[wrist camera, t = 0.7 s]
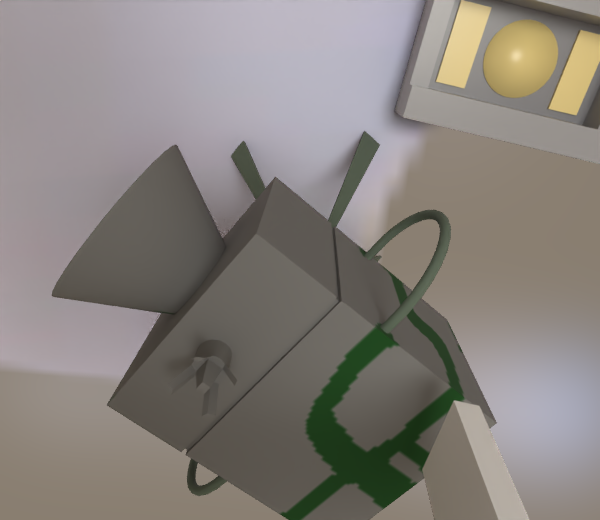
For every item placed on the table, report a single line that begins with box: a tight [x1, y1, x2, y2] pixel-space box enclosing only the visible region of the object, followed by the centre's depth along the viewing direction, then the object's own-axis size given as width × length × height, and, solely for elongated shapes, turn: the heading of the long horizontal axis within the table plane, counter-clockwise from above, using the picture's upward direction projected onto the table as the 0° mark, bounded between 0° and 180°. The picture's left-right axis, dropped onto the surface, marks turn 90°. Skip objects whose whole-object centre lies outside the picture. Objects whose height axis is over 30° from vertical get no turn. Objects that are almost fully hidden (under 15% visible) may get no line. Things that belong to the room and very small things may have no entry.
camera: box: [52, 132, 496, 520], centre depth 26 cm, size 16×16×25 cm
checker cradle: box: [395, 0, 600, 164], centre depth 32 cm, size 10×14×4 cm
